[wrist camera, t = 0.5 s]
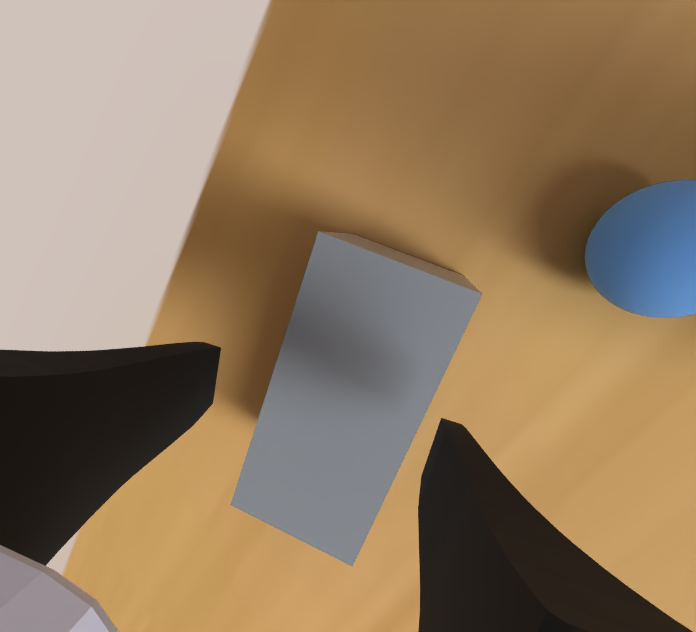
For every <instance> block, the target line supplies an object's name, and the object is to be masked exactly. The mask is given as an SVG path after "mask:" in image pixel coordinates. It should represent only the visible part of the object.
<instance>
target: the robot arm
mask: <svg viewBox="0 0 696 632" xmlns="http://www.w3.org/2000/svg"><path fill="white" fill-rule="evenodd" d="M220 351H221V348H220V347H217V346H214V345H211V344H208V343H205V342H186V343H174V344H164V345H155V346H145V347H135V348H122V349H110V350H97V351H65V352H64V351H63V352H47V351H45V352H44V351H18V350H0V632H119V631H118V630H117V628H116V627H115V625H114V624H113V623H112V621H111V620H110V618H109V617H108V615H107V614H106V613H105V611H104V610H103V608H102V607H101V606H100V604H99V603H98V601H97V600H96V599H94V598H93V597H91V596H90V595H89V594H87V593H86V592H84V591H83V590H82V589H80V588H79V587H77V586H76V585H75V584H73V583H72V582H70V581H69V580H68V579H66V578H65V577H63V576H62V575H60V574H59V573H58V572H56V571H55V570H53V569H51V568H49V567H46V564H47V563H48V562H49V561H50V560H51V559H52V557H54V556H55V554H56V553H57V552H58V551H59V550H60V549H61V548H62V547H63V546H64V545H65V544H66V543H67V541H68V540H69V539H70V538H71V537H72V536H73V535H74V534H75V533H76V532H77V531H78V530H79V529H80V528H81V527H82V526H83V524H84V523H85V522H86V521H87V520H88V519H89V518H90V517H91V516H92V515H93V514H94V513H95V512H96V511H97V510H98V509H99V508H100V507H101V506H102V505H103V504H104V503H105V502H106V501H107V500H108V499H109V498H110V497H111V496H112V495H113V494H114V493H115V492H116V491H117V490H118V489H119V488H120V487H121V486H122V485H123V484H124V483H126V482H127V481H128V480H129V479H130V478H131V477H132V476H133V475H134V474H136V473H137V472H138V471H139V470H141V469H142V468H143V467H144V466H145V465H147V464H148V463H149V462H150V461H151V460H153V459H154V458H155V457H156V456H157V455H159V454H160V453H161V452H162V451H163V450H165V449H166V448H167V447H168V446H170V445H171V444H172V443H173V442H174V441H175V440H177V439H178V438H179V437H180V436H181V435H183V434H184V433H185V432H186V431H187V430H188V429H190V428H191V427H192V426H193V425H194V424H195V423H196V422H197V421H198V420H199V418H200V417H201V416H202V415H203V414H204V413H205V412H206V411H207V409H208V408H209V407H210V406H211V405H212V404H213V399H214V392H215V385H216V378H217V371H218V365H219V358H220ZM418 519H419V558H420V619H419V632H692V631H691V630H689V629H688V628H686V627H685V626H683V625H682V624H680V623H679V622H677V621H675V620H674V619H673V618H671V617H670V616H668V615H667V614H665V613H664V612H663V611H661V610H660V609H658V608H657V607H656V606H654V605H653V604H651V603H650V602H649V601H647V600H646V599H644V598H643V597H642V596H640V595H639V594H637V593H636V592H635V591H633V590H632V589H630V588H629V587H628V586H626V585H625V584H624V583H622V582H621V581H620V580H618V579H617V578H616V577H615V576H613V575H612V574H611V573H609V572H608V571H607V570H605V569H604V568H603V567H601V566H600V565H599V564H598V563H597V562H595V561H594V560H593V559H592V558H590V557H589V556H588V555H587V554H586V553H584V552H583V551H582V550H581V549H579V548H578V547H577V546H576V545H575V544H573V543H572V542H571V541H570V540H569V539H568V538H566V537H565V536H564V535H563V534H562V533H561V532H560V531H558V530H557V529H556V528H555V527H554V526H553V525H552V524H551V523H550V522H549V521H548V520H547V519H546V518H545V517H544V516H542V515H541V514H540V513H539V512H538V511H537V510H536V509H535V508H534V507H533V506H532V505H531V504H530V503H529V502H528V501H527V500H526V499H525V498H524V497H523V496H522V495H521V494H520V492H519V491H518V490H517V489H516V488H515V487H514V486H513V485H512V484H511V483H510V482H509V480H508V479H507V478H506V477H505V476H504V475H503V474H502V472H501V471H500V470H499V469H498V468H497V466H496V465H495V464H494V463H493V462H492V460H491V459H490V458H489V457H488V455H487V454H486V453H485V452H484V450H483V449H482V448H481V447H480V445H479V444H478V443H477V442H476V440H475V439H474V438H473V436H472V435H471V434H470V433H469V431H468V430H467V429H466V428H465V427H464V426H463V425H462V424H459V423H456V422H452V421H449V420H446V419H443V418H441V421H440V423H439V426H438V429H437V432H436V435H435V438H434V441H433V444H432V447H431V450H430V453H429V456H428V459H427V461H426V464H425V467H424V470H423V473H422V477H421V486H420V495H419V506H418Z"/></svg>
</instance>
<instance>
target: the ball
mask: <svg viewBox="0 0 696 632" xmlns="http://www.w3.org/2000/svg"><path fill="white" fill-rule="evenodd" d="M585 265H586V269H587V273H588V276H589V278H590V280H591V282H592V284H593V285H594V287H595V288H596V290H597V291H598V292H599V293H600V294H601V295H602V296H603V297H604V298H606V299H607V300H608V301H609V302H611V303H612V304H614V305H616V306H617V307H619V308H622V309H624V310H626V311H628V312H632V313H635V314H639V315H643V316H649V317H661V318H672V317H682V316H688V315H694V314H696V180H677V181H669V182H663V183H659V184H654V185H651V186H648V187H646V188H643V189H640V190H638V191H636V192H634V193H632V194H629V195H628V196H626V197H625V198H623V199H621V200H620V201H618V202H617V203H616V204H614V205H613V206H612V207H611V208H609V209H608V210H607V211H606V212H605V213H604V214H603V215H602V217H601V218H600V219H599V220H598V222H597V223H596V225H595V226H594V228H593V229H592V231H591V233H590V236H589V238H588V241H587V244H586V250H585Z"/></svg>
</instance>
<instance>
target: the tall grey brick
mask: <svg viewBox="0 0 696 632" xmlns="http://www.w3.org/2000/svg"><path fill="white" fill-rule="evenodd" d="M481 296H482V293H481V292H480V291H479V290H478V289H477V288H476V287H475V286H474V285H473V284H472V283H471V282H470V281H469V280H468V279H467V278H466V277H465V276H463V275H461V274H458V273H455V272H453V271H450V270H447V269H445V268H442V267H439V266H437V265H434V264H432V263H429V262H426V261H424V260H421V259H418V258H416V257H413V256H410V255H408V254H405V253H402V252H400V251H397V250H395V249H392V248H389V247H387V246H384V245H381V244H379V243H376V242H373V241H371V240H368V239H365V238H363V237H360V236H358V235H355V234H352V233H337V232H321V231H318V234H317V237H316V240H315V243H314V246H313V249H312V253H311V256H310V259H309V262H308V265H307V268H306V271H305V274H304V278H303V281H302V284H301V287H300V290H299V293H298V296H297V299H296V302H295V306H294V309H293V312H292V315H291V318H290V321H289V324H288V327H287V331H286V334H285V337H284V340H283V343H282V346H281V349H280V352H279V356H278V359H277V362H276V365H275V368H274V371H273V374H272V377H271V380H270V384H269V387H268V390H267V393H266V396H265V399H264V402H263V405H262V409H261V412H260V415H259V418H258V421H257V424H256V427H255V430H254V434H253V437H252V440H251V443H250V446H249V449H248V452H247V455H246V459H245V462H244V465H243V468H242V471H241V474H240V477H239V480H238V483H237V487H236V490H235V493H234V496H233V499H232V502H231V505H232V506H234V507H236V508H238V509H240V510H242V511H244V512H246V513H248V514H250V515H252V516H254V517H256V518H258V519H260V520H261V521H263V522H265V523H267V524H269V525H271V526H273V527H275V528H277V529H279V530H281V531H283V532H285V533H287V534H289V535H291V536H293V537H295V538H297V539H299V540H301V541H303V542H305V543H307V544H309V545H311V546H313V547H315V548H317V549H319V550H321V551H323V552H325V553H327V554H329V555H331V556H333V557H335V558H337V559H339V560H341V561H343V562H345V563H347V564H349V565H351V566H353V564H354V562H355V560H356V558H357V556H358V554H359V552H360V550H361V547H362V545H363V543H364V541H365V539H366V537H367V535H368V533H369V531H370V529H371V527H372V524H373V522H374V520H375V518H376V516H377V514H378V512H379V510H380V508H381V506H382V503H383V501H384V499H385V497H386V495H387V493H388V491H389V489H390V487H391V485H392V482H393V480H394V478H395V476H396V474H397V472H398V470H399V468H400V466H401V464H402V461H403V459H404V457H405V455H406V453H407V451H408V449H409V447H410V445H411V443H412V440H413V438H414V436H415V434H416V432H417V430H418V428H419V426H420V424H421V422H422V419H423V417H424V415H425V413H426V411H427V409H428V407H429V405H430V403H431V401H432V399H433V396H434V394H435V392H436V390H437V388H438V386H439V384H440V382H441V380H442V378H443V375H444V373H445V371H446V369H447V367H448V365H449V363H450V361H451V359H452V357H453V354H454V352H455V350H456V348H457V346H458V344H459V342H460V340H461V338H462V336H463V333H464V331H465V329H466V327H467V325H468V323H469V321H470V319H471V317H472V315H473V312H474V310H475V308H476V306H477V304H478V302H479V300H480V298H481Z"/></svg>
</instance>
